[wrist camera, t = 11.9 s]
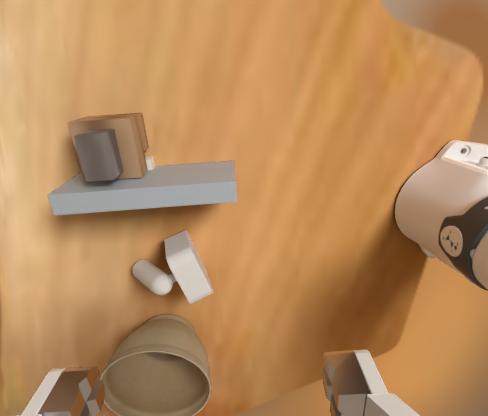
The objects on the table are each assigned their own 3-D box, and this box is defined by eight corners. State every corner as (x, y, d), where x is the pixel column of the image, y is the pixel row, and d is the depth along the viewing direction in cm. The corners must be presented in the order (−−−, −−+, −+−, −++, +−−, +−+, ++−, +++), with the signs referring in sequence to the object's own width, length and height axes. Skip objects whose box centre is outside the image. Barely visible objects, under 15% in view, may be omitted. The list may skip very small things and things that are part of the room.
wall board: (233, 150, 42) (235, 169, 34) (235, 177, 44) (237, 201, 36) (79, 161, 42) (43, 183, 33) (86, 188, 43) (54, 215, 35)
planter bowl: (111, 353, 56) (86, 413, 46) (137, 286, 50) (115, 338, 40) (194, 374, 59) (188, 435, 49) (227, 314, 54) (227, 368, 44)
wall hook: (121, 250, 47) (114, 286, 38) (183, 222, 48) (191, 250, 39) (145, 290, 50) (144, 332, 41) (203, 262, 51) (215, 297, 42)
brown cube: (142, 112, 40) (120, 122, 31) (151, 165, 43) (134, 187, 34) (87, 116, 40) (51, 127, 31) (101, 168, 42) (70, 191, 34)
